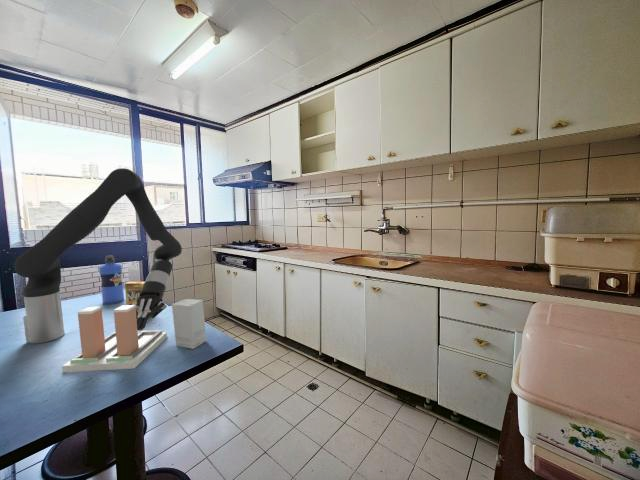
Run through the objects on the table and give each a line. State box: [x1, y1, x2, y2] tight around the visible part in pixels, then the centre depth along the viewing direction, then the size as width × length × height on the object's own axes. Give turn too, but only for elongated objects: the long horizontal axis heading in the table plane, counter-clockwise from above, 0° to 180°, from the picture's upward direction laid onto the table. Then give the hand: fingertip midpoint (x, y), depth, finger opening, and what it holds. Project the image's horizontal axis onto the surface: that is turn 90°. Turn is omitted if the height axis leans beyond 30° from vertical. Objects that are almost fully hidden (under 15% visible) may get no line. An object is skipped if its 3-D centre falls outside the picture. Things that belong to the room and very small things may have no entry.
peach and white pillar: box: [113, 304, 139, 356], centre depth 83 cm, size 4×4×15 cm
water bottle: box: [98, 254, 125, 305], centre depth 139 cm, size 9×9×25 cm
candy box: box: [124, 280, 145, 313], centre depth 120 cm, size 9×4×15 cm, turn 87°
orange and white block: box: [77, 306, 106, 358], centre depth 82 cm, size 4×4×15 cm
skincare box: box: [171, 298, 207, 350], centre depth 93 cm, size 8×7×16 cm
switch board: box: [61, 329, 168, 373], centre depth 88 cm, size 20×20×3 cm
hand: (138, 329), depth 89 cm, fingers closed
